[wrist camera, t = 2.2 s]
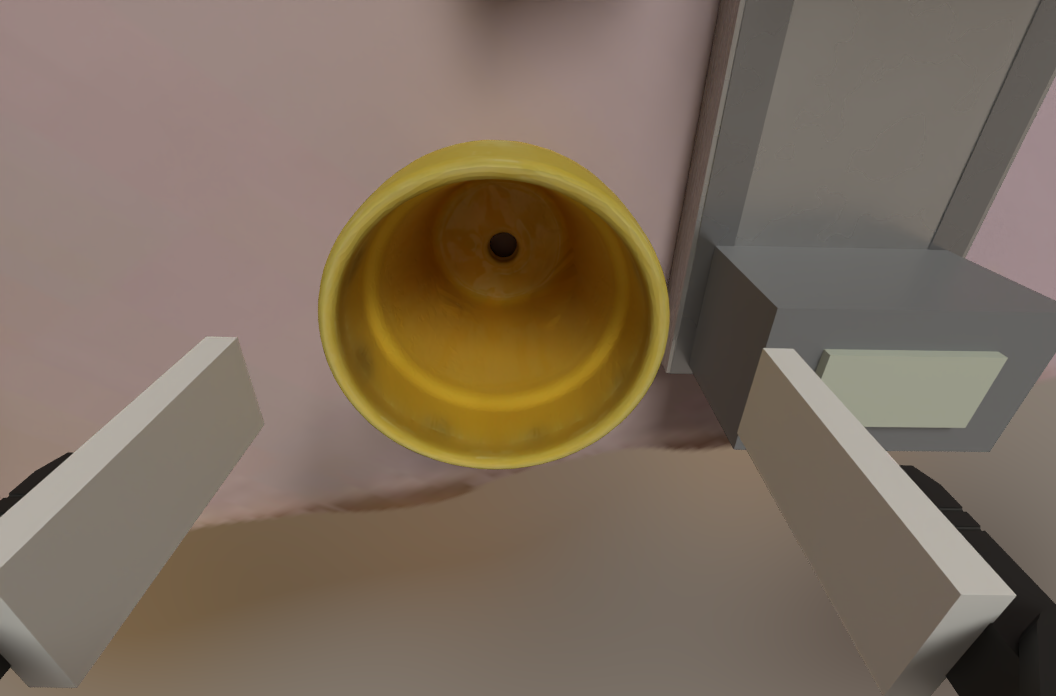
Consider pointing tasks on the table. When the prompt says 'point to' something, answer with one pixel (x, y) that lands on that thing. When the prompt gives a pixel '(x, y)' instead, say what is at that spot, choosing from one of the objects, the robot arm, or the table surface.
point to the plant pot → (493, 307)
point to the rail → (854, 129)
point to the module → (877, 338)
